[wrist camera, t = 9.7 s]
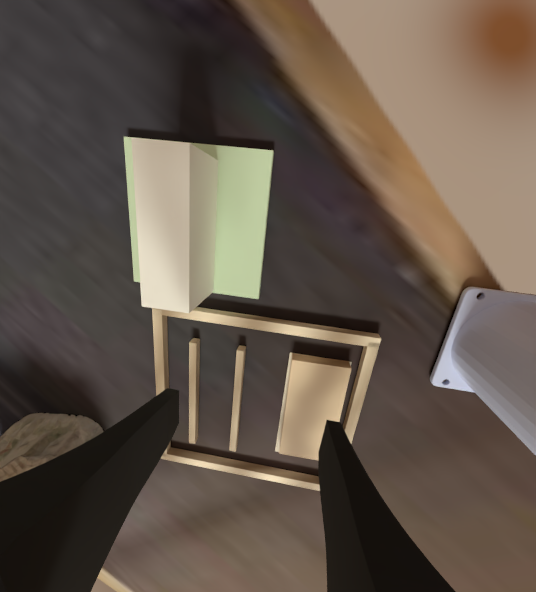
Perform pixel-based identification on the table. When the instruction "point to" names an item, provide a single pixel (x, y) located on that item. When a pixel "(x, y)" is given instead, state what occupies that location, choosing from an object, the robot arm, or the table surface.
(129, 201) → the mat
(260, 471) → the rack
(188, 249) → the tall cream block
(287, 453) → the offcut upper
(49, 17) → the table surface
